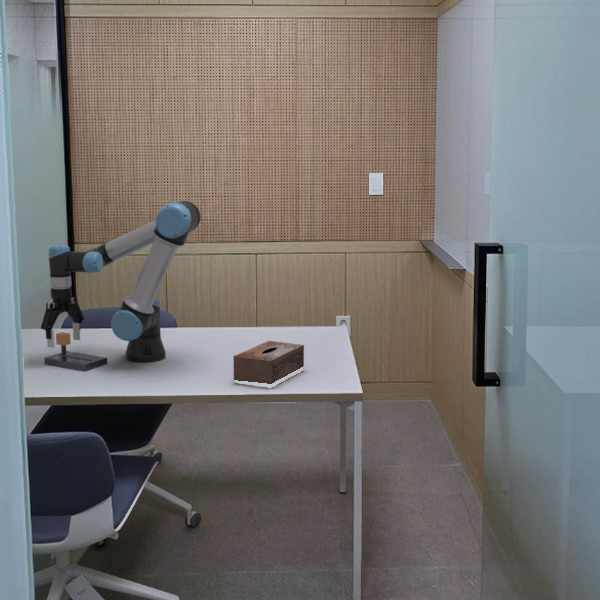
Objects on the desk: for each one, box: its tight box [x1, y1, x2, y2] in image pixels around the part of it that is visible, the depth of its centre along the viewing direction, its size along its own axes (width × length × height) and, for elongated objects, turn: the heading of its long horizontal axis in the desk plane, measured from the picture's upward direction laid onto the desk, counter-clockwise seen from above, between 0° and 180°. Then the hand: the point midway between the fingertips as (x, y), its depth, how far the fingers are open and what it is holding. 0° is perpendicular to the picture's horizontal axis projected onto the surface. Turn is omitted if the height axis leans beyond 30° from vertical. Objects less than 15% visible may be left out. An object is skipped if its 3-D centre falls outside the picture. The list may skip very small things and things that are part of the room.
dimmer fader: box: [55, 332, 72, 355], centre depth 336 cm, size 4×3×8 cm
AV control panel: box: [43, 350, 108, 372], centre depth 334 cm, size 20×12×3 cm, turn 61°
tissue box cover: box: [233, 340, 305, 384], centre depth 318 cm, size 26×14×10 cm, turn 154°
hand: (64, 343), depth 336 cm, fingers open, 13 cm apart
